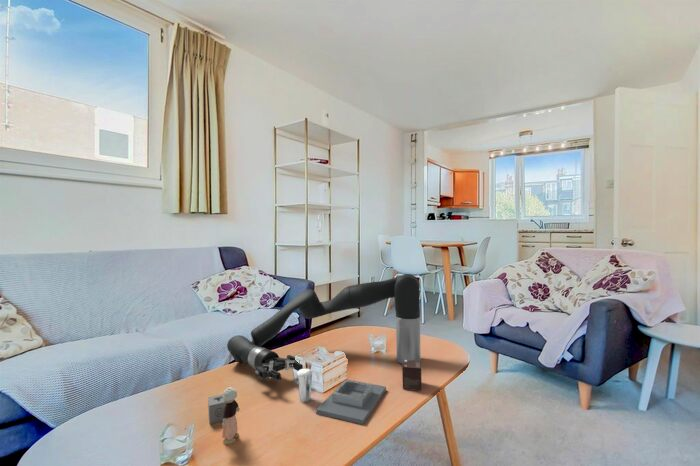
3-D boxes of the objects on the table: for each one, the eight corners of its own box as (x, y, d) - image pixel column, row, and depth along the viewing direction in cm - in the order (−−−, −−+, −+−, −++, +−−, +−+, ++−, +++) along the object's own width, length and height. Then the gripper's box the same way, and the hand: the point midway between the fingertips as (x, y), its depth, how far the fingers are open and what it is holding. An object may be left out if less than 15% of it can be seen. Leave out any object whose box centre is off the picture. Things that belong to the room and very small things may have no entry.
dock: (345, 382, 111) (345, 371, 111) (385, 390, 105) (385, 378, 105) (316, 413, 92) (316, 400, 92) (363, 424, 87) (362, 410, 87)
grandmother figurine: (226, 430, 85) (225, 381, 85) (242, 429, 85) (241, 380, 85) (217, 450, 77) (216, 396, 77) (234, 449, 78) (233, 395, 78)
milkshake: (316, 395, 102) (315, 363, 102) (308, 404, 97) (308, 370, 97) (303, 393, 104) (302, 361, 104) (294, 402, 99) (294, 368, 99)
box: (421, 391, 104) (421, 368, 104) (402, 389, 105) (402, 366, 105) (421, 382, 110) (421, 360, 110) (403, 381, 111) (402, 359, 111)
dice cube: (227, 410, 95) (227, 393, 95) (229, 419, 90) (229, 401, 90) (208, 415, 93) (208, 397, 93) (209, 424, 88) (209, 405, 88)
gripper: (244, 355, 111) (271, 368, 100) (279, 343, 122) (308, 354, 111) (244, 377, 111) (272, 392, 100) (280, 364, 122) (308, 376, 111)
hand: (291, 372), depth 105 cm, fingers open, 8 cm apart
